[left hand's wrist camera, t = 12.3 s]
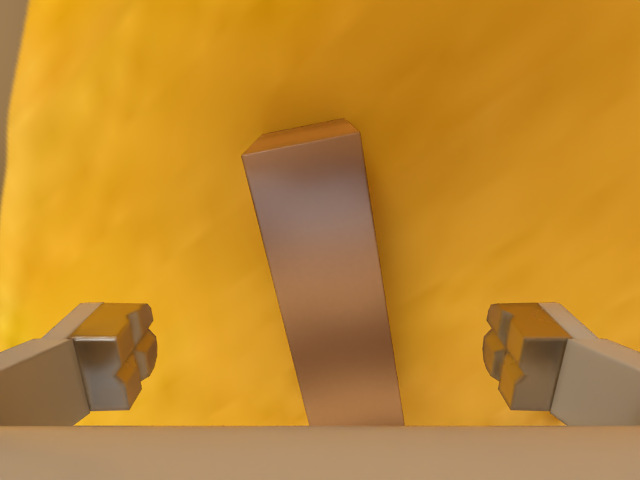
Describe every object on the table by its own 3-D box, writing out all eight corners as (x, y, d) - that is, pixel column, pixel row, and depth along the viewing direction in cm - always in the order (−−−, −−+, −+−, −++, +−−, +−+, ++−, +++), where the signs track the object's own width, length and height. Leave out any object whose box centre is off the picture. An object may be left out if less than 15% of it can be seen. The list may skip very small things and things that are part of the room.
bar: (261, 134, 29) (240, 155, 20) (344, 117, 28) (360, 131, 20) (324, 404, 37) (328, 502, 28) (389, 393, 37) (414, 489, 28)
